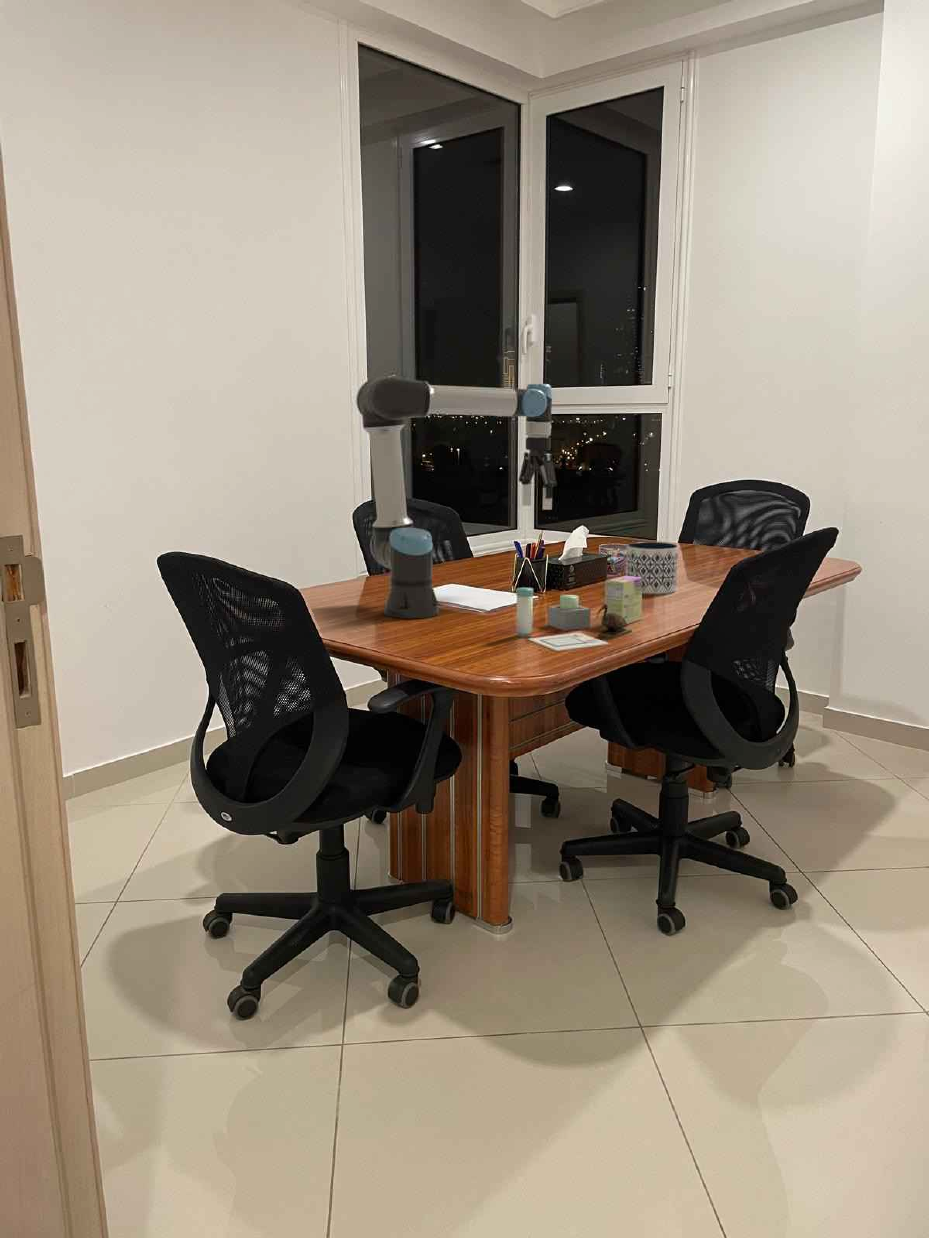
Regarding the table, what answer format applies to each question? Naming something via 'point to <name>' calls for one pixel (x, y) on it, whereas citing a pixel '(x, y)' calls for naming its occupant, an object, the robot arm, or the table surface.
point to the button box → (569, 618)
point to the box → (624, 597)
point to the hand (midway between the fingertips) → (536, 507)
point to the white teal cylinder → (524, 611)
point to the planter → (653, 566)
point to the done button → (569, 602)
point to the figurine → (613, 624)
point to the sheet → (568, 641)
